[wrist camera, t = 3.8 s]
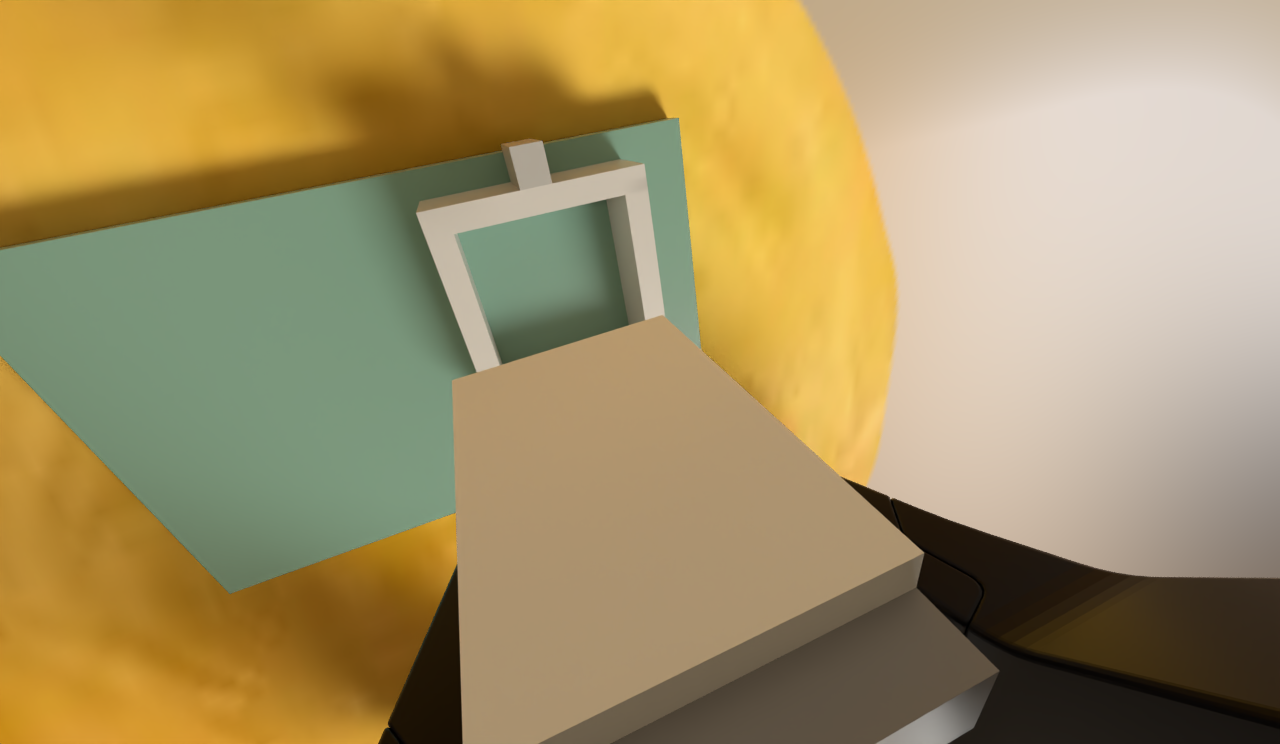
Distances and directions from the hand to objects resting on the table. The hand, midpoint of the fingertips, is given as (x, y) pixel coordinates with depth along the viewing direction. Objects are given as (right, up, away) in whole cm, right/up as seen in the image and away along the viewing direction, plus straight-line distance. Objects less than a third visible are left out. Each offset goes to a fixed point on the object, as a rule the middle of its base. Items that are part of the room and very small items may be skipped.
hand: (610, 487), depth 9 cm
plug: (0, +1, +1) cm, 1 cm away
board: (-8, +3, +10) cm, 13 cm away
